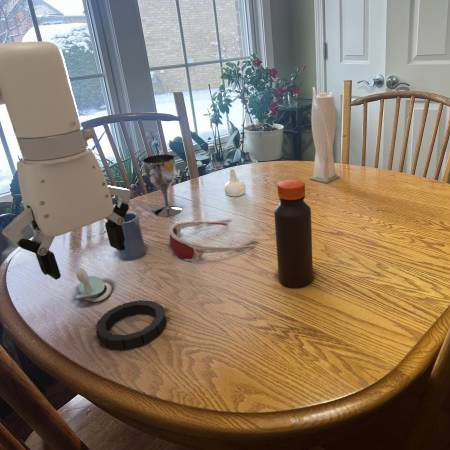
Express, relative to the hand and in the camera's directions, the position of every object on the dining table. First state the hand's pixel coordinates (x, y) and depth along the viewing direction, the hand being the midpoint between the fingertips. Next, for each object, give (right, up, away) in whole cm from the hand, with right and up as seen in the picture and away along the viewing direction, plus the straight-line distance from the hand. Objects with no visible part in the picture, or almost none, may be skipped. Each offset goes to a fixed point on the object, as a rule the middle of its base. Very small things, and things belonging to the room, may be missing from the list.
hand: (87, 261), depth 63 cm
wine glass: (-6, +9, +57) cm, 58 cm away
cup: (-7, -1, +35) cm, 36 cm away
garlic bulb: (+12, +15, +68) cm, 70 cm away
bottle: (+30, -6, +23) cm, 38 cm away
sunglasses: (+10, 0, +38) cm, 39 cm away
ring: (+3, -12, +11) cm, 17 cm away
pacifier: (-8, -8, +21) cm, 24 cm away
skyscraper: (+39, +20, +78) cm, 89 cm away
